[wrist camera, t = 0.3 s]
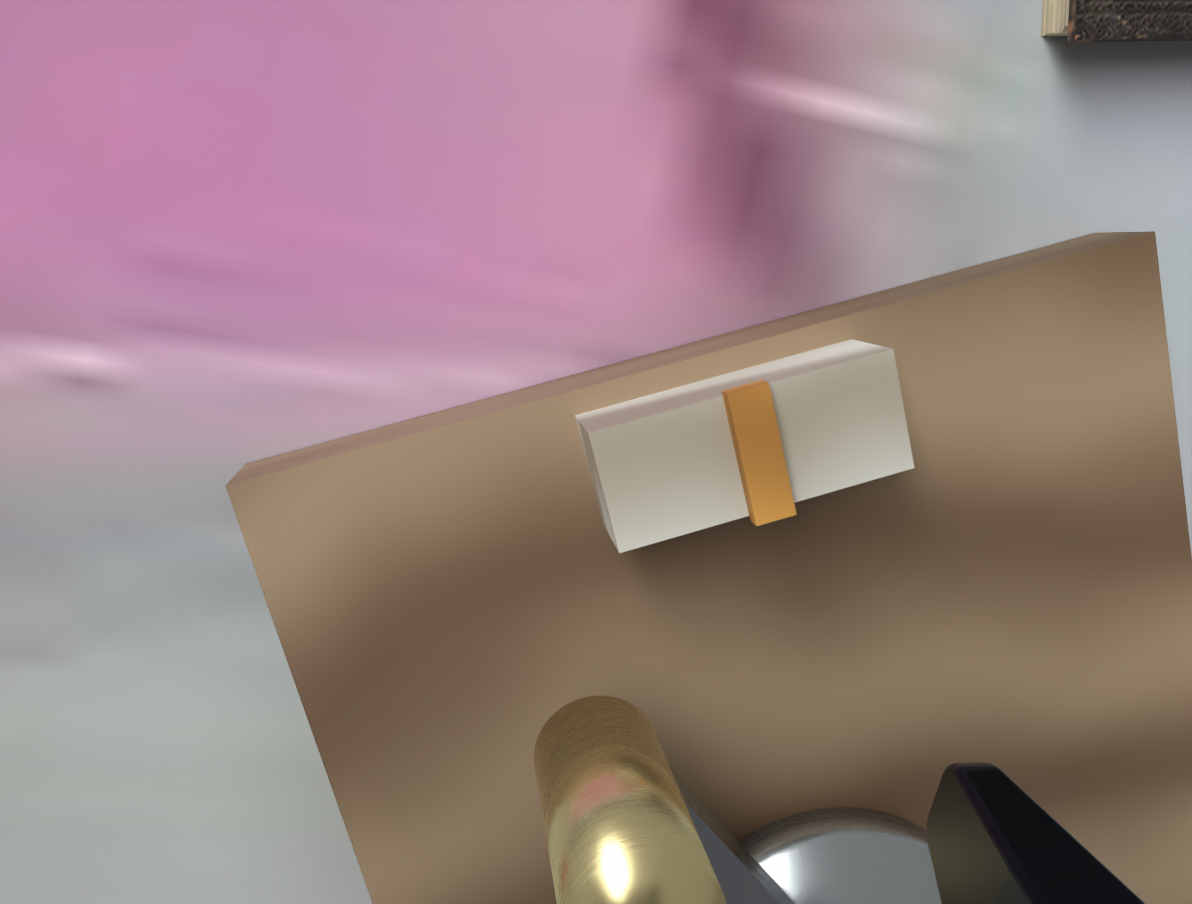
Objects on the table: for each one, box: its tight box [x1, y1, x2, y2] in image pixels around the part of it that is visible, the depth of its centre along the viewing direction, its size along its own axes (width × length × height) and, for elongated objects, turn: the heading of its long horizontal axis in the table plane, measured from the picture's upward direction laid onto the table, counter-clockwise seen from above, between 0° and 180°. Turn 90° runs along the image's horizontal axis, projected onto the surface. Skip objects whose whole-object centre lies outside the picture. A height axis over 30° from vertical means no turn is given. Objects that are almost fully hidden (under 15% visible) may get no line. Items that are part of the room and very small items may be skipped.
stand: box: [226, 232, 1192, 904], centre depth 23 cm, size 24×20×4 cm
